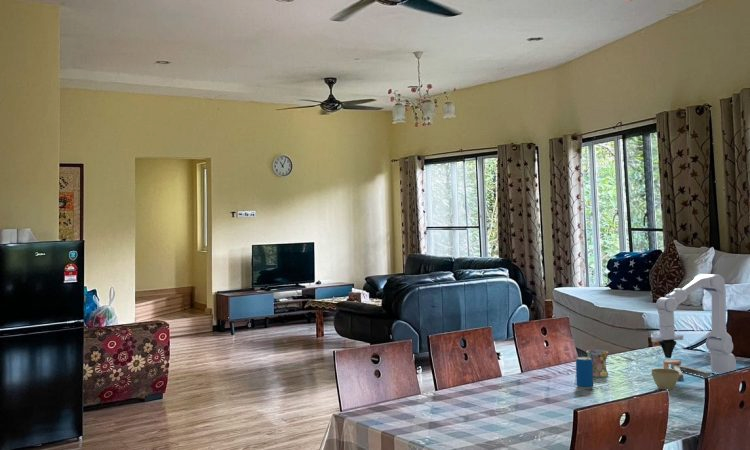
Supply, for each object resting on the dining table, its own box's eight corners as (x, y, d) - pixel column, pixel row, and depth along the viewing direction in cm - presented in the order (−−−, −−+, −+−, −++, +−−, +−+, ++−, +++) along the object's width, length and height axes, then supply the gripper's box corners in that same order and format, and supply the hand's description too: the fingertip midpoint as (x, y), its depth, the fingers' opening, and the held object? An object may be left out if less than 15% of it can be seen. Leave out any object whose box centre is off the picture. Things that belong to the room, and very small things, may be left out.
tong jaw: (672, 371, 272) (672, 366, 272) (679, 371, 271) (678, 367, 271) (676, 379, 257) (676, 374, 257) (683, 379, 256) (683, 374, 256)
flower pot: (676, 393, 236) (676, 374, 237) (649, 390, 242) (648, 371, 243) (682, 387, 244) (681, 369, 244) (655, 384, 250) (654, 367, 250)
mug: (596, 372, 275) (595, 349, 276) (613, 376, 267) (613, 352, 268) (578, 376, 269) (577, 352, 270) (595, 380, 261) (594, 355, 262)
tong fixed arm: (674, 368, 279) (674, 363, 279) (710, 378, 258) (710, 372, 258) (666, 369, 277) (666, 364, 278) (701, 379, 257) (701, 373, 257)
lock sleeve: (677, 368, 279) (676, 360, 279) (680, 369, 276) (680, 361, 276) (663, 369, 277) (663, 361, 277) (667, 370, 274) (667, 362, 275)
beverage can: (594, 389, 245) (593, 359, 245) (577, 389, 246) (576, 359, 247) (592, 385, 252) (591, 356, 252) (575, 385, 253) (574, 356, 253)
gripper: (674, 323, 265) (675, 354, 265) (645, 325, 262) (647, 357, 261) (686, 325, 258) (687, 357, 258) (657, 327, 255) (658, 360, 254)
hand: (668, 357), depth 259 cm, fingers closed
